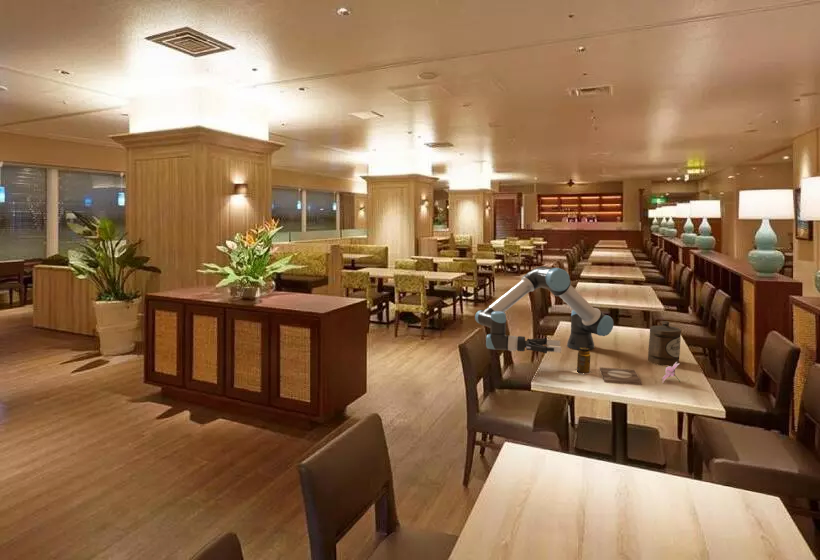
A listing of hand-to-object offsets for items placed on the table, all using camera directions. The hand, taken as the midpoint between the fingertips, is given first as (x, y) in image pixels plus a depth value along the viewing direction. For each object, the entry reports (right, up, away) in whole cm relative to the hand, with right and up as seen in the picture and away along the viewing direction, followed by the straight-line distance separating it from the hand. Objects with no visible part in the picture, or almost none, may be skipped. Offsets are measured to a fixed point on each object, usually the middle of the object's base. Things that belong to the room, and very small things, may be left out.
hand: (560, 346), depth 258 cm
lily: (+46, -15, -16) cm, 51 cm away
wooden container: (+59, -10, +16) cm, 62 cm away
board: (+26, -13, -9) cm, 30 cm away
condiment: (+10, -13, -1) cm, 16 cm away
